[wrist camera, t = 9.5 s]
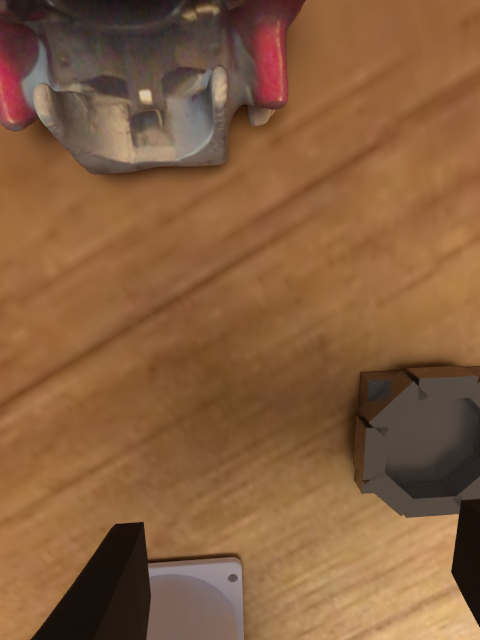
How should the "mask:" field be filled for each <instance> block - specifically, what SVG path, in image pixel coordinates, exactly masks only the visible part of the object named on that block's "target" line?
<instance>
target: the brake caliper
mask: <svg viewBox="0 0 480 640" xmlns="http://www.w3.org/2000/svg"><path fill="white" fill-rule="evenodd" d="M305 1H306V0H0V122H1V124H2V125H3V126H4V127H5V128H7V129H9V130H12V131H20V130H23V129H25V128H26V127H27V126H29V125H31V124H32V123H33V122H34V121H36V120H37V119H38V118H40V120H41V121H42V122H43V124H44V125H45V126H46V127H47V128H48V129H49V130H50V131H51V133H52V134H53V135H54V136H55V137H56V139H57V140H58V141H59V143H60V144H61V145H62V146H63V147H65V148H66V149H67V150H69V152H70V153H71V154H72V155H73V157H74V158H75V159H76V161H77V162H78V163H79V164H80V165H82V166H83V167H84V168H86V169H87V170H88V171H89V172H90V173H92V174H117V173H131V172H136V171H140V170H145V169H149V168H155V167H163V166H215V165H222V164H224V163H225V162H226V161H227V159H228V147H227V146H228V136H229V128H230V123H231V120H232V117H233V115H234V113H235V112H236V110H237V109H238V108H239V107H240V106H242V105H245V104H246V105H247V110H248V116H249V121H250V124H251V125H252V126H259V125H263V124H265V123H267V122H268V120H269V118H270V117H271V116H272V115H273V113H274V111H275V110H276V109H279V108H282V107H284V106H285V105H286V104H287V101H288V79H287V64H286V41H285V36H286V31H287V29H288V27H289V25H290V24H291V23H292V22H293V20H294V19H295V17H296V16H297V15H298V13H299V12H300V10H301V8H302V5H303V4H304V2H305Z"/></svg>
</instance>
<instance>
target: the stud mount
mask: <svg viewBox="0 0 480 640" xmlns="http://www.w3.org/2000/svg"><path fill="white" fill-rule="evenodd" d="M354 466H355V482H356V484H357V486H358V488H359V489H360V491H361V493H362V494H363V493H375V494H376V495H377V496H378V497H380V498H381V499H382V500H383V501H384V502H385V503H386V504H388V505H389V506H390V507H391V508H392V509H393V510H395V511H396V512H397V513H398V514H399V515H400V516H402V515H403V514H404V515H405V517H406V518H409V517H423V516H437V515H451V514H459V512H460V505H461V500H469V499H480V366H478V367H463V366H445V367H424V368H406V370H396V371H375V372H361V376H360V394H359V411H358V415H356V427H355V446H354Z"/></svg>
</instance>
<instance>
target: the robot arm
mask: <svg viewBox="0 0 480 640" xmlns="http://www.w3.org/2000/svg"><path fill="white" fill-rule="evenodd" d="M451 573H452V575H453V577H454V579H455V581H456V583H457V585H458V587H459V589H460V591H461V593H462V595H463V597H464V599H465V601H466V603H467V605H468V606H469V608H470V610H471V612H472V614H473V616H474V618H475V620H476V621H477V623H478V625H479V627H480V499H469V500H461V505H460V512H459V520H458V527H457V534H456V542H455V549H454V556H453V564H452V571H451ZM231 574H235V575H233V576H231ZM31 640H244V621H243V586H242V564H241V561H240V560H239V559H238V558H236V557H227V558H213V559H200V560H187V561H174V562H160V563H148V560H147V550H146V540H145V531H144V522H138V523H123V524H115V525H114V526H113V527H112V528H111V529H110V531H109V532H108V534H107V535H106V537H105V538H104V540H103V541H102V543H101V544H100V546H99V547H98V549H97V550H96V552H95V553H94V555H93V556H92V557H91V559H90V560H89V562H88V563H87V565H86V566H85V568H84V569H83V570H82V572H81V573H80V575H79V576H78V577H77V579H76V580H75V582H74V583H73V584H72V586H71V587H70V589H69V590H68V591H67V593H66V594H65V595H64V597H63V598H62V599H61V601H60V602H59V603H58V605H57V606H56V607H55V609H54V610H53V611H52V613H51V614H50V615H49V617H48V618H47V620H46V621H45V622H44V623H43V625H42V626H41V627H40V629H39V630H38V631H37V632H36V634H35V635H34V636H33V637H32V639H31Z"/></svg>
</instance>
